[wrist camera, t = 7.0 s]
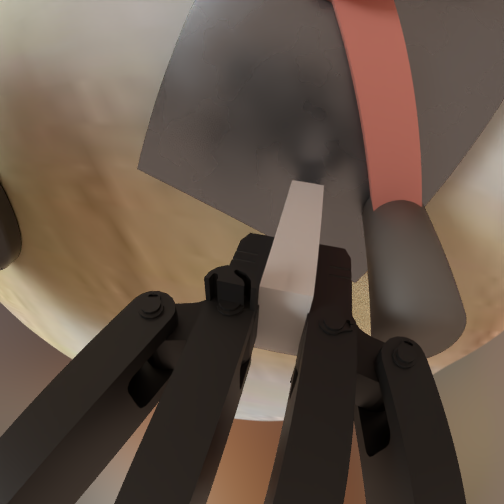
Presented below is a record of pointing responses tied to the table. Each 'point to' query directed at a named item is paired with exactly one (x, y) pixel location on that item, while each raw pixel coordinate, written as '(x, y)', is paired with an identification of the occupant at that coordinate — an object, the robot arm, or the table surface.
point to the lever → (396, 187)
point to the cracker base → (312, 106)
